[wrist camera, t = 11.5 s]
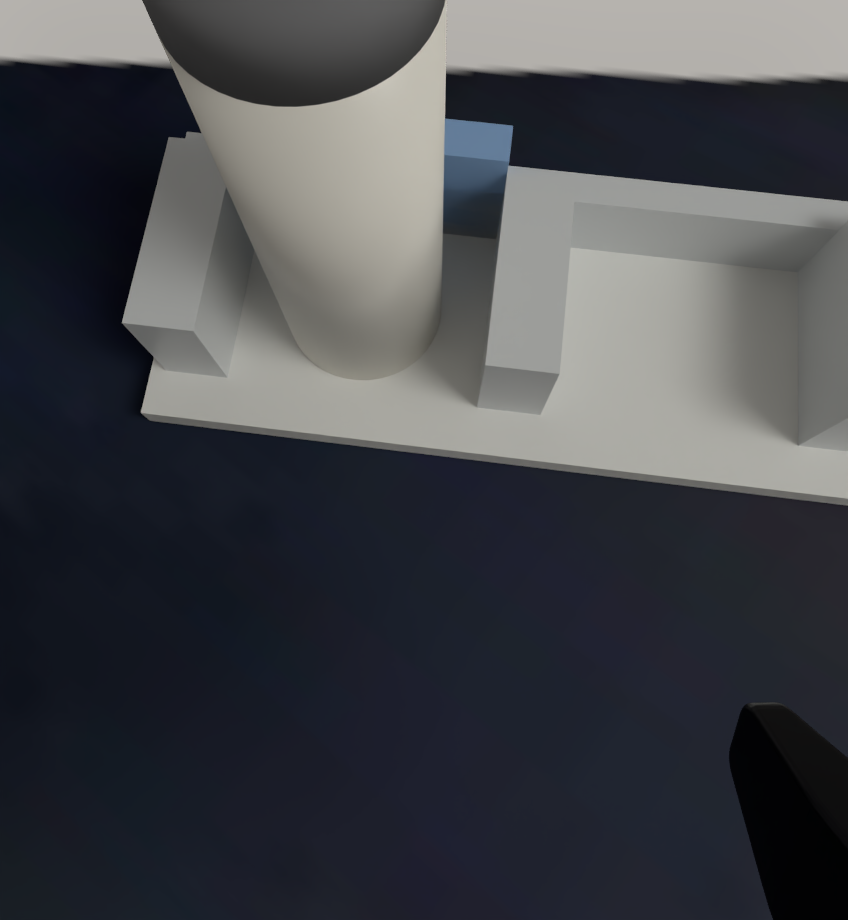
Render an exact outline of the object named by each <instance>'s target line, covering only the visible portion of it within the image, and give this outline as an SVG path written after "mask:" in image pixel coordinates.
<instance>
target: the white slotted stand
mask: <svg viewBox="0 0 848 920" xmlns="http://www.w3.org/2000/svg"><path fill="white" fill-rule="evenodd" d="M512 131H513V126H510V125H500V124H491V123H481V122H471V121H462V120H452V119H445V138H444V191H443V243H442V296H441V318H440V324H439V327H438V330H437V333H436V335H435V337H434V339H433V341H432V343H431V344H430V346H429V347H428V349H427V350H426V351H425V352H424V354H423V355H422V356H421V357H420V358H419V359H418V360H416V361H415V362H414V363H413V364H411V365H410V366H409V367H407V368H406V369H404V370H402V371H400V372H398V373H396V374H393V375H390V376H387V377H384V378H379V379H373V380H353V379H346V378H342V377H339V376H335V375H333V374H331V373H328V372H326V371H324V370H323V369H321V368H319V367H318V366H317V365H315V364H314V363H313V362H311V361H310V360H309V359H308V358H307V357H306V356H305V355H304V353H303V352H302V351H301V349H300V348H299V346H298V345H297V343H296V341H295V339H294V337H293V335H292V332H291V330H290V328H289V326H288V323H287V321H286V319H285V317H284V315H283V312H282V310H281V308H280V306H279V303H278V301H277V299H276V297H275V295H274V292H273V290H272V288H271V286H270V283H269V281H268V279H267V277H266V275H265V272H264V270H263V268H262V266H261V263H260V261H259V259H258V257H257V254H256V252H255V250H254V248H253V246H252V243H251V241H250V239H249V237H248V234H247V232H246V230H245V228H244V226H243V223H242V221H241V219H240V217H239V214H238V212H237V210H236V208H235V205H234V203H233V201H232V199H231V197H230V194H229V192H228V190H227V188H226V185H225V183H224V181H223V179H222V177H221V174H220V172H219V170H218V168H217V165H216V163H215V161H214V159H213V157H212V154H211V152H210V150H209V148H208V145H207V143H206V141H205V139H204V136H203V134H202V133H194V132H187V134H186V138H185V139H183V138H173V137H169V139H168V143H167V146H166V150H165V154H164V158H163V162H162V166H161V170H160V174H159V178H158V182H157V186H156V190H155V194H154V198H153V202H152V206H151V209H150V213H149V217H148V221H147V225H146V229H145V233H144V237H143V241H142V245H141V249H140V253H139V257H138V261H137V265H136V269H135V273H134V276H133V280H132V284H131V288H130V292H129V296H128V300H127V304H126V308H125V312H124V316H123V320H122V324H123V325H124V326H125V327H126V328H127V329H128V330H129V331H130V332H131V333H132V334H133V335H134V336H135V338H136V339H137V340H138V341H139V342H140V343H141V344H142V345H143V346H144V347H145V348H146V349H147V350H148V351H149V352H150V354H151V355H152V356H153V357H154V359H153V363H152V367H151V372H150V376H149V380H148V384H147V388H146V393H145V397H144V401H143V405H142V409H141V414H143V415H144V416H145V417H146V418H147V419H149V420H150V421H157V422H165V423H173V424H182V425H190V426H198V427H206V428H214V429H223V430H231V431H239V432H247V433H256V434H264V435H272V436H280V437H288V438H297V439H305V440H313V441H321V442H329V443H338V444H346V445H354V446H362V447H371V448H379V449H387V450H395V451H403V452H412V453H420V454H428V455H436V456H444V457H453V458H461V459H469V460H477V461H486V462H494V463H502V464H510V465H518V466H527V467H535V468H543V469H551V470H559V471H568V472H576V473H584V474H592V475H601V476H609V477H617V478H625V479H633V480H642V481H650V482H658V483H666V484H674V485H683V486H691V487H699V488H707V489H716V490H724V491H732V492H740V493H748V494H757V495H765V496H773V497H781V498H790V499H798V500H806V501H814V502H822V503H831V504H839V505H847V506H848V202H846V201H837V200H827V199H818V198H808V197H799V196H789V195H780V194H770V193H761V192H752V191H742V190H733V189H723V188H714V187H704V186H695V185H685V184H676V183H666V182H657V181H648V180H638V179H629V178H619V177H610V176H600V175H591V174H581V173H572V172H562V171H553V170H544V169H534V168H525V167H515V166H508V165H509V158H510V149H511V140H512Z"/></svg>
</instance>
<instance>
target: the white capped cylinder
mask: <svg viewBox="0 0 848 920" xmlns="http://www.w3.org/2000/svg"><path fill="white" fill-rule="evenodd" d="M142 1H143V3H144V5H145V7H146V10H147V12H148V14H149V16H150V18H151V21H152V23H153V25H154V27H155V29H156V32H157V34H158V36H159V39H160V41H161V43H162V45H163V47H164V50H165V52H166V54H167V56H168V58H169V61H170V63H171V65H172V67H173V70H174V72H175V74H176V76H177V79H178V81H179V83H180V85H181V87H182V90H183V92H184V94H185V96H186V99H187V101H188V103H189V105H190V108H191V110H192V112H193V114H194V116H195V119H196V121H197V123H198V125H199V128H200V130H201V132H202V134H203V136H204V139H205V141H206V143H207V145H208V148H209V150H210V152H211V154H212V157H213V159H214V161H215V163H216V165H217V168H218V170H219V172H220V174H221V177H222V179H223V181H224V183H225V185H226V188H227V190H228V192H229V194H230V197H231V199H232V201H233V203H234V205H235V208H236V210H237V212H238V214H239V217H240V219H241V221H242V223H243V226H244V228H245V230H246V232H247V234H248V237H249V239H250V241H251V243H252V246H253V248H254V250H255V252H256V254H257V257H258V259H259V261H260V263H261V266H262V268H263V270H264V272H265V275H266V277H267V279H268V281H269V283H270V286H271V288H272V290H273V292H274V295H275V297H276V299H277V301H278V303H279V306H280V308H281V310H282V312H283V315H284V317H285V319H286V321H287V323H288V326H289V328H290V330H291V332H292V335H293V337H294V339H295V341H296V343H297V345H298V346H299V348H300V349H301V351H302V352H303V353H304V355H305V356H306V357H307V358H308V359H309V360H310V361H311V362H313V363H314V364H315V365H317V366H318V367H319V368H321V369H323V370H324V371H326V372H328V373H331V374H333V375H335V376H339V377H342V378H346V379H353V380H373V379H379V378H384V377H387V376H390V375H393V374H396V373H398V372H400V371H402V370H404V369H406V368H407V367H409V366H410V365H411V364H413V363H414V362H415V361H416V360H418V359H419V358H420V357H421V356H422V355H423V354H424V352H425V351H426V350H427V349H428V347H429V346H430V344H431V343H432V341H433V339H434V337H435V335H436V333H437V330H438V327H439V324H440V318H441V296H442V243H443V191H444V138H445V85H446V33H447V32H446V31H447V30H446V29H447V0H142Z"/></svg>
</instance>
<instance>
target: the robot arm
mask: <svg viewBox="0 0 848 920" xmlns="http://www.w3.org/2000/svg"><path fill="white" fill-rule="evenodd" d="M729 763H730V769H731V773H732V777H733V781H734V784H735V788H736V792H737V795H738V799H739V802H740V806H741V810H742V813H743V817H744V821H745V824H746V828H747V832H748V835H749V839H750V842H751V846H752V850H753V853H754V857H755V861H756V864H757V868H758V872H759V875H760V879H761V883H762V886H763V889H764V893H765V896H766V899H767V903H768V906H769V909H770V912H771V915H772V918H773V920H848V758H847V757H846V756H845V755H843V754H842V753H841V752H840V751H839V750H838V749H836V748H835V747H834V746H833V745H832V744H830V743H829V742H828V741H827V740H826V739H825V738H823V737H822V736H821V735H820V734H819V733H818V732H816V731H815V730H814V729H813V728H812V727H810V726H809V725H808V724H807V723H806V722H805V721H803V720H802V719H801V718H800V717H799V716H798V715H796V714H795V713H794V712H793V711H792V710H790V709H789V708H788V707H786V706H784V705H783V704H780V703H749V704H746V705H745V706H744V707H743V708H742V710H741V712H740V716H739V719H738V722H737V726H736V729H735V733H734V736H733V739H732V743H731V746H730V751H729Z"/></svg>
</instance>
